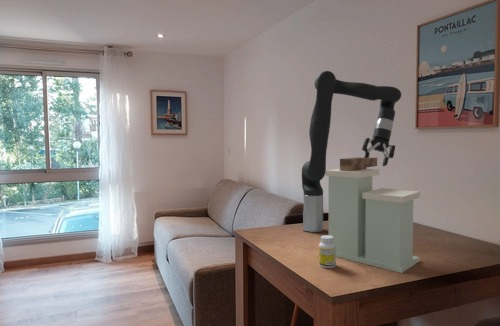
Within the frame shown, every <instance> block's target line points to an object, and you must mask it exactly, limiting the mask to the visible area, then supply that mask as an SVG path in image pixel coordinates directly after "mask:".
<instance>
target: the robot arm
mask: <svg viewBox="0 0 500 326" xmlns="http://www.w3.org/2000/svg"><path fill="white" fill-rule="evenodd" d="M314 87H315V89H316V97H315V104H314V107H313V110H312V114H311V117H310V124H309V129H308V130H309V142H310V147H311V152H310V158H309V161H306V162H305V163H304V164H303V165H302V168H301V187H302V190H303V191H302V192H303V210H302V218H303V219H302V220H303V221H302V229H303V230H304V231H303V230H302V231H303V232H308V231H309V233H320V232H323V231H324V190H323V189H324V188H323V187H322V184H321V180H323V178H324V177H325V171H326V170H327V150H328V144H329V143H328V142H329V135H330V130H331V119H332V104H333V103H332V102H333V97H334V95H335V94H337V95H344V96H349V97H354V98H359V99H363V100H367V101H378V100H379V103H380V104H379V112H378V115H377V120H376V123H375V125H374V131H373V135H372V139H370V138H369V137H366V138H365V139H364V142H363V145H362V147H361V151H363V152H364V153H365V154H364V156H363V158H370V152H371V151H376V152H377V151H378V152H381V154H382V155H383V157H384V158H383V161H382V167H386V166H387V165H388V162H389V159H393V158H394V156H395V152H396V151H395V150H396V145H394V144H393V145H391V144H390V140H391V137H392V136H391V135H392V131H393V127H394V126H393V125H394V119H395V115H396V111H395V104H396V103H397V102H398V101H400V100H401V99H402V92H401V90H400V89H399V88H398V87H394V86H389V85H386V86H385V85H374V84H370V83H365V82H354V81H353V82H351V81H343V80H340V79H337V78H336V76H335V74H334V73H333V72H332V71H329V70H324V71H322V72H321V73H319V74H318V75H317V77H316V78H315V80H314ZM369 144H370V145H371V146H369ZM368 146H369V148H368ZM388 149H389V150H388Z"/></svg>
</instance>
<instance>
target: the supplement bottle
mask: <svg viewBox="0 0 500 326" xmlns="http://www.w3.org/2000/svg"><path fill="white" fill-rule="evenodd" d="M318 258H319V259H318V261H319V262H318V264H319V267H321V268H325V269H333V268H335V267H336V266H337V264H336V263H337V259H336V258H337V257H336V245H335V244H334V243H333V236H330V235H329V234H327V235H326V234H325V235H321V236H320V242H319V245H318Z"/></svg>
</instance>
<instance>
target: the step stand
mask: <svg viewBox="0 0 500 326" xmlns="http://www.w3.org/2000/svg"><path fill="white" fill-rule="evenodd" d="M379 175H380V169H376V168H375V169H374V168H367V169H363V170H357V171H340V168H335V169H326V171H325V175H324V177H325V176H326V177H328V235H330V236H333V243H334V244H335V245H336V258H340V259H345V260H348V261H353V262H355V263H360V264H364V265H368V266H373V267H377V268H379V269H380V268H381V269H385V270H388V271H391V272H396V273H401V274H403V273H404V272H406V271H407V270H408V269H410V268H412V267H413V266H414V265H416V264H417V263H419V262H420V256H416V255H414V253H413V249H414V200H416V199H419V198H421V191H418V190H417V191H416V190H408V189H407V190H406V189H396V188H387V187H386V188H383V187H381V188H377V189H373V177H374V176H379Z"/></svg>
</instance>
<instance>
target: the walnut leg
mask: <svg viewBox="0 0 500 326" xmlns="http://www.w3.org/2000/svg"><path fill="white" fill-rule="evenodd" d="M377 166H378V157H369V158H364V157H358V156H357V157H346V158H339V169H340V171H357V170H363V169H368V168H372V167H373V168H374V167H377Z"/></svg>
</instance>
